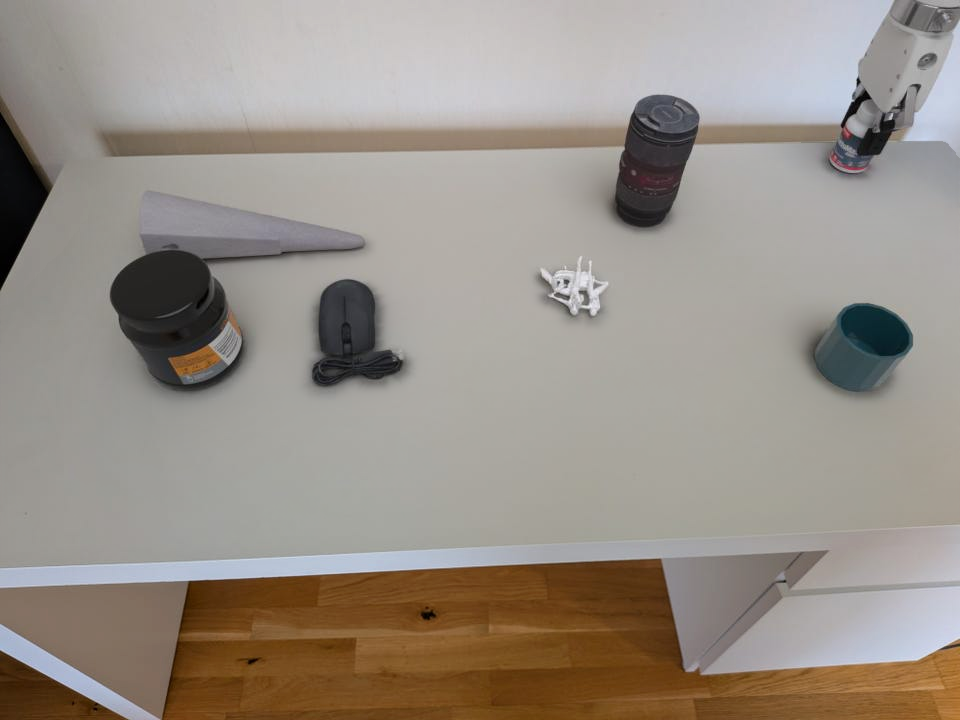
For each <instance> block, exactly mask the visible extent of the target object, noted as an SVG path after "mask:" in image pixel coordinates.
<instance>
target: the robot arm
mask: <svg viewBox="0 0 960 720" xmlns="http://www.w3.org/2000/svg"><path fill="white" fill-rule="evenodd" d="M959 22H960V0H893V1H892V4H891V7H889V11H888V12H887V13H886V15H885V17H884V19H883V20H882V21H881V23H880V25H879V27H878V28H877V30H876V32H875V34H874V35H873V37H872V39H871V41H870V43H869V44H868V46H867V49H866V50H865V52H864V54H863V56H862V58H860V59H859V61H858V64H857V78H856V82H855V83H856V84H855V85H856V88H855V89H854V91H853V92H852V95H851V100H852V101H851V102H850V104H849V106H848V107H847V108H848V109H847V110H846V112H845V115H844V116H843V118H842V121H841V123H840V124H839V125H840V127H841V129H842V130H843V128H844V126H845V124H846V122H847V120H848V119H849V118H850V117H851V116H852V115H854V114H857V111H858V109H859V107H860V105H861V103H862V102H864V101H865V100H871V99H873V101H874V102H875V104H876V105H877V106H878V111H877V114H876V118H875V121H874V124H873V127H872V128H868V130H867V132H866V133H865V135H864V137H863V139H862V141H861V143H860V145H859V147H858V149H857V151H856V153H857V155H858V156H870V155H874V156H879V155H881V154H882V153H883V150H884V149H885V147H886V145H887V143H888V142H889V140H890V137H891V136H892V134H893V133H896V132H898V131H900V130H904V129H908V128H912V127H913V125H914V121H915V113H918V112H920V110H921V109H922V108H923V107H924V104H925V103H926V101H927V99H928V98H929V95H930V93H931V91H932V90H933V88H934V86H935V84H936V83H937V80H938V78H939V75H940V73H941V72H942V70H943V67H944V64H945V62H946V60H947V57H948V55H949V52H950V49H951V47H952V44H953V40H954V34H953V32H954V31H955V29H956V27H957V25H958V23H959ZM886 113H892V115H891V119H889V120H887V121H884V119H885V116H886Z"/></svg>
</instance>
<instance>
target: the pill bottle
mask: <svg viewBox="0 0 960 720" xmlns="http://www.w3.org/2000/svg"><path fill="white" fill-rule="evenodd" d="M877 111H878V106H877V105H876V104H875V102H874V101H873V99H871V100H865V101H864V102H862V103H861V105H860V107H859V109H858V111H857V114H854V115H852V116H851V117H850V118H849V119H848V120H847V122H846V124H845V126H844V128H843V129H842V130H841V132H840V134H839V136H838V138H837V140H836V142H835V143H834V147H833V148H832V150H831V152H830V155H829V161H830V164H831V165H832V166H834V168H836V169H838V170H839V171H841V172H843V173H849V174H860V173H862V172H864V171H866V169H868V168H869V166H870V163H871V162H872V160H873V158H874V157H875V155H870V156H858V155H857V153H856V151H857V149H858V147H859V145H860V143H861V141H862V139H863V137H864V135H865V133H866V132H867V130H868V128H872V127H873V124H874V121H875V118H876V114H877ZM892 115H893V113H886V116H885V119H884V121H887V120H890V118H891V117H892Z"/></svg>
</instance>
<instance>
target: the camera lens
mask: <svg viewBox="0 0 960 720" xmlns="http://www.w3.org/2000/svg"><path fill="white" fill-rule="evenodd" d="M700 118H701V117H700V113H699V111H698V109H697V108H696V107H695V106H693V104H692V103H690V102H688V101H687V100H685V99H683V98H681V97H678V96H676V95H675V96H674V95H670V94H658V93H657V94H651V95H647V96H645V97H642V98H641V99H639V100H638V101H637V102H636V104H635V106H634V109H633V111H632V113H631V114H630V116H629V122H628V126H627V131H626V135H625V140H624V141H625V142H624V149H623V150H622V152H621V154H620V157H619V158H620V159H619V162H618V170H619V172H618V174H617V179H616V183H615V196H614V201H615V203H616V206H615V207H616V208H615V209H616V213H617V216H618V217H619V218H620V219H621V220H622V221H624V222H625V223H627V224H629V225H631V226H635V227H640V228H649V227H654V226H657V225H658V224H660V223H662V222H663V221H664V220H665V218H666V217H667V214H668V213H669V212H670V211H671V210H672V207H673V205H674V203H675V201H676V199H677V196H678V193H679V189H680V187H681V182H682V179H683V175H684V171H685V169H686V165H687V162H688V161H689V158H690V156H691V153H692V152H693V148H694V145H695V143H696V138H697V135H698V132H699V124H700V120H701V119H700Z"/></svg>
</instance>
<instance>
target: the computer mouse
mask: <svg viewBox="0 0 960 720" xmlns="http://www.w3.org/2000/svg"><path fill="white" fill-rule="evenodd" d="M375 313H376V302H375V298H374V294H373V291H372V290H371V289H370V287H369V286H368V285H366V284H365V283H363V282H361V281H359V280H356V279H351V278H345V279H340V280H337V281H334V282H332V283H331V284H329V285H328V286H326V287H325V288H324V289H323V291H322V292H321V295H320V297H319V311H318V324H317V325H318V326H317V327H318V339H319V347H320V350H321V352H323V353H326V354H327V355H329V356H330V357H328V356H327V357H326V356H325V357H323V358H321V359H319V361H316V362H315V364H314V365H313V367H312V370H311V373H312V374H311V379H312V381H313V382H314V383H315V384H317V385H319V386H324V387H325V386H330V385H334V384H336V383H338V382H339V381H341V380H342V379H344V378H346V377H349V376H351V375H353V376H357V375H358V374H360V375H361V376H363V377H365V378H367V379H370V380H381V379H382V378H384V376H385V375H391V374H394V373H397V372H399V371H400V370H401V369H402V367H403V363H404V362H403V361H404V360H405V359H404V352H403V349H396V350H391V349H386V350H379V351H372V352H370V353H368V354H365V355H363V356H362V357H356V358H352V355H356V354H361V353H365V352H368V351H370V350H371V349H373V348H375V346H376V325H375ZM331 356H340V357H341V356H342V357H343V356H345V358H338V357H331ZM336 369H338V370H341V369H342V370H341V371H338V372H336V373H332V374H327V373H325V371H327V370H336ZM372 375H375V376H372Z"/></svg>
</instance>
